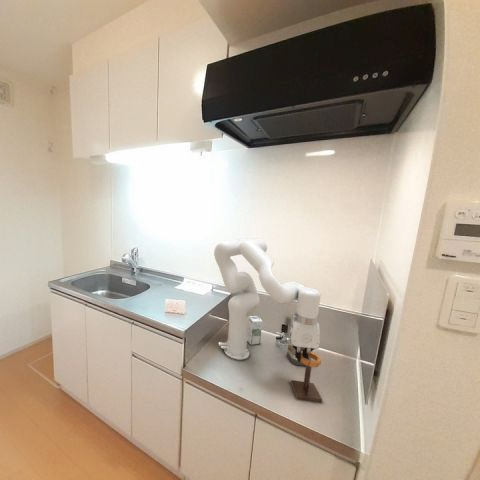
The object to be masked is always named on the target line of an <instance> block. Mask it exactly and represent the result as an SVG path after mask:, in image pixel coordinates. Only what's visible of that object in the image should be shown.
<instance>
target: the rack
mask: <svg viewBox="0 0 480 480" xmlns="http://www.w3.org/2000/svg"><path fill="white" fill-rule="evenodd" d="M311 374H312V367H310V366H307V365H306V366H305V371H304V378H303V381H301V380H293V379H291V380H290V385H291V387H292V389H293V392H294V394H295V397H296V399H297V400H303V401H310V402H317V403H322V401H323V398H322V396H321V395H320V393H319V391H318V388H317V387H316V385H315V383H313V382H311Z"/></svg>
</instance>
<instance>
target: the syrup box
mask: <svg viewBox="0 0 480 480" xmlns="http://www.w3.org/2000/svg"><path fill="white" fill-rule="evenodd" d="M247 318H248V336H247V343H249V345H250V346H252V345H261V339H262V331H263V330H262V328H263V320H262V319H261V318H260V317H259V316H258V315H253V316H252V315H250V316H247Z"/></svg>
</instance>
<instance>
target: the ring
mask: <svg viewBox="0 0 480 480" xmlns="http://www.w3.org/2000/svg"><path fill="white" fill-rule="evenodd" d="M302 353H303V351H301V360H300V362H301V363H303V364H305V365H307V366H310V367H311V368H318V367H319V366H321V365H322V358H321V357H320V355H318V354H317V353H315V352H314V351H312V352H310V353H309V355H308V357H310V358H311V360H308V359H306V358H304V357H303V355H302ZM312 359H313V360H312Z"/></svg>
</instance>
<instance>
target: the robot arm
mask: <svg viewBox="0 0 480 480" xmlns="http://www.w3.org/2000/svg"><path fill="white" fill-rule="evenodd" d="M267 250H268V246H267V243H266V242H265V241H264V240H263V239H262V238H256V237H255V238H234V239H226V240H222V241H220V242H218V243H217V244H216V246H215V247H214V251H213V256H214V260H215V262H216V264H217V267H218V268H219V271H220V275H221V277H222V281H223V284H224V287H225V290H226V291H227V292H228V293H230V294H236V293H239V292H240V293H239V294H236V295H234V296H232V297H231V298H229V300H228V302H227V309H228V333H227V340H226V341H225V342H221V341H218V347H220V349H223V351H224V354H225V355H226V356H227V357H229V358H231V359H233V360H238V361H242V360H246V359H248V358H249V357H250V351H249V349H248V348H247V346H248V341H247V336H248V316H247V314H248V313H250V312H252V311H254V310H256V309H258V308H259V306H260V305H261V303H260V302H261V301H260V296H259V294H258V291H257V287H256V284H255V281H254V279H253V277H252V276H251V275H250V274H249V273H248V272H246V271H239V270H238V267H237V264H236V263H235V262H234V260H233V259H232V258H231V257H235V256H240V255H242V257H243V258H244V259H245V260H246V261H247V262H248V263H249V264H250V265H251V266H252V268H253V269H254V270H255V271H256V272H257V273H258V278H259V282H260V284H261V287H262V288H263V290H264V291H265V292H266V293H267V295H268V296H269V297H270V298H271V299H273V301H274V302H276V303H277V304H280V305H287V304H289V303H291V302H295V301H297V302H296V308H295V309H296V311H295V313H294V314H291V318H292V322H291V325H290V327H291V329H290V328H289V333H290V334H289V335H288V339H287V341H286V344H287V346H288V345H289V346H292V347H293V348H294V349H295V350H296V352H295V357H296V358H297V360H298V361H299V362H300V360H301V352H300V347H305V349H303V353H302V355H303V357H304V358H306V359H308V355H309V353H310V352H311V351H312V352H313V351H314V350H318V349H320V348H321V346H320V341H321V330H320V324H319V322H318V317H319V311H320V303H321V292H320V291H319V290H318V289H315V288H313V287H308V286H306V285H303V284H301V283H300V282H297V281H287V282H285V283H282V284H281V283H280V282H279V280H278V279H277V278H276V277H275V275H274V273H273V271H272V268H273V266H274V264H275V261H274V260H273V259H272V257H270V255H268V254H267Z"/></svg>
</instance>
